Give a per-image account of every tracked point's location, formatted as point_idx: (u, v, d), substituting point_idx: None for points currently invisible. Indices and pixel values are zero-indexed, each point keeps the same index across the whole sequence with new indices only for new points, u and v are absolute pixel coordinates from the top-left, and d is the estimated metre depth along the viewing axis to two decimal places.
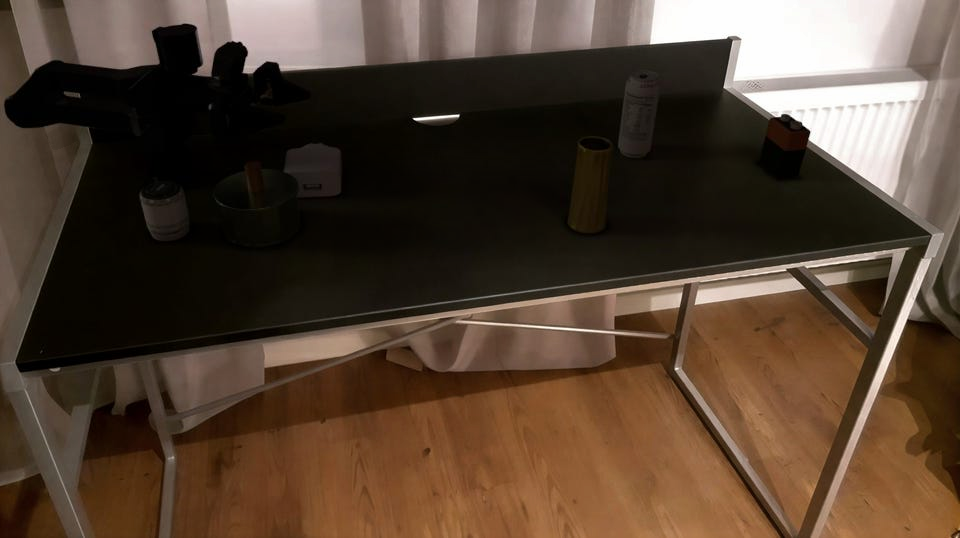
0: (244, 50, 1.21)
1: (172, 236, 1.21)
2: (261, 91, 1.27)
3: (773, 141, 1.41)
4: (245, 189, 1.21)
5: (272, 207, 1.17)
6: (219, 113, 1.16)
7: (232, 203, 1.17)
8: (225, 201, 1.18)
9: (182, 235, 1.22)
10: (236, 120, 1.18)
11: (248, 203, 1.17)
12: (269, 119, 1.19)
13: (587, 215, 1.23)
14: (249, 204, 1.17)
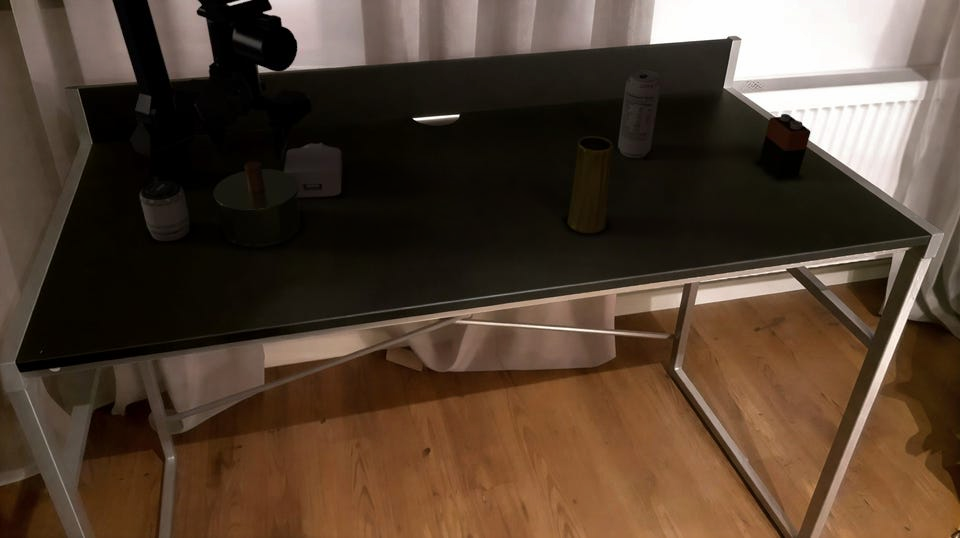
0: (223, 124, 1.07)
1: (172, 236, 1.21)
2: (264, 109, 1.13)
3: (773, 141, 1.41)
4: (245, 189, 1.21)
5: (272, 207, 1.17)
6: None
7: (232, 203, 1.17)
8: (225, 201, 1.18)
9: (182, 235, 1.22)
10: None
11: (248, 203, 1.17)
12: None
13: (587, 215, 1.23)
14: (249, 204, 1.17)
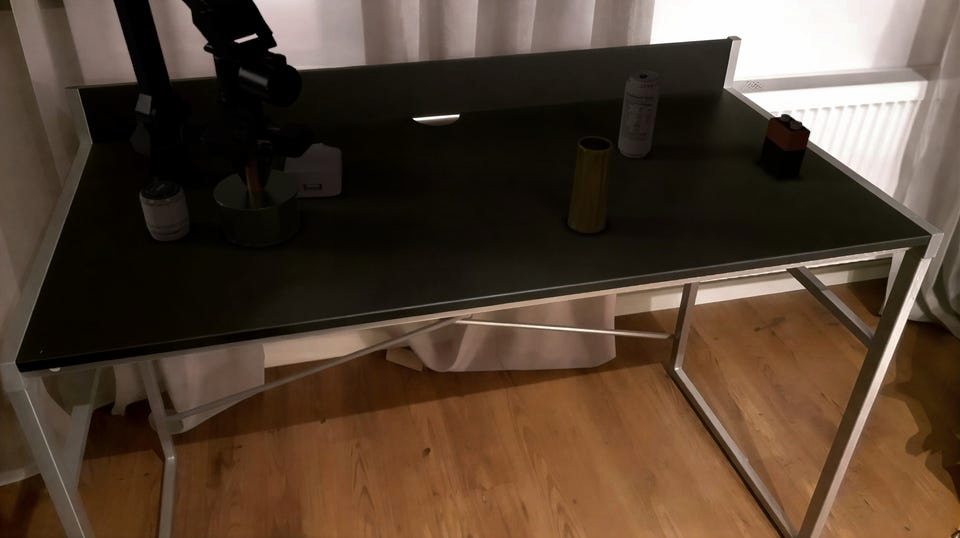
0: (229, 158, 1.10)
1: (172, 236, 1.21)
2: None
3: (773, 141, 1.41)
4: (245, 189, 1.21)
5: (272, 207, 1.17)
6: None
7: (232, 203, 1.17)
8: (225, 201, 1.18)
9: (182, 235, 1.22)
10: None
11: (248, 203, 1.17)
12: None
13: (587, 215, 1.23)
14: (249, 204, 1.17)
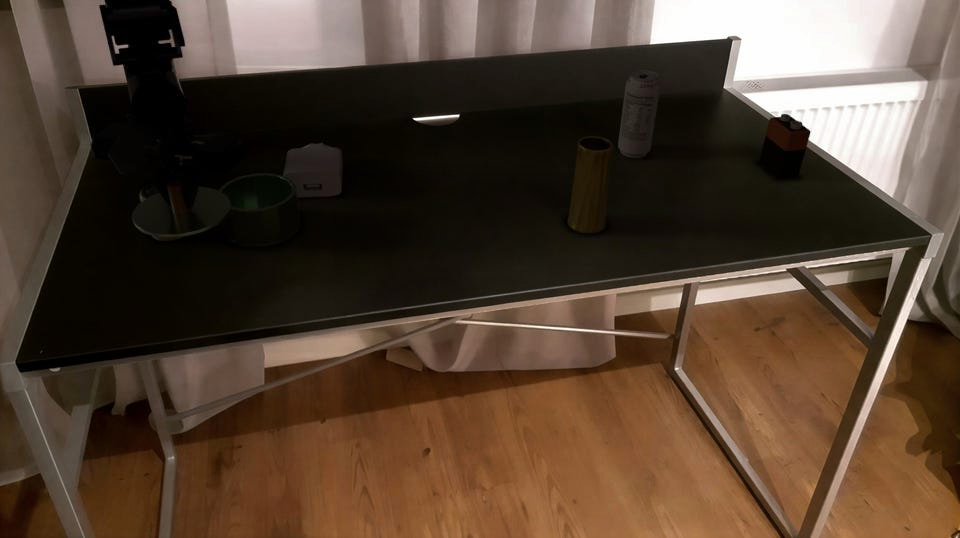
0: (142, 177, 0.96)
1: None
2: None
3: (773, 141, 1.41)
4: (169, 210, 1.07)
5: (197, 231, 1.03)
6: None
7: (152, 227, 1.03)
8: (144, 224, 1.04)
9: None
10: None
11: (170, 227, 1.03)
12: None
13: (587, 215, 1.23)
14: (171, 228, 1.03)
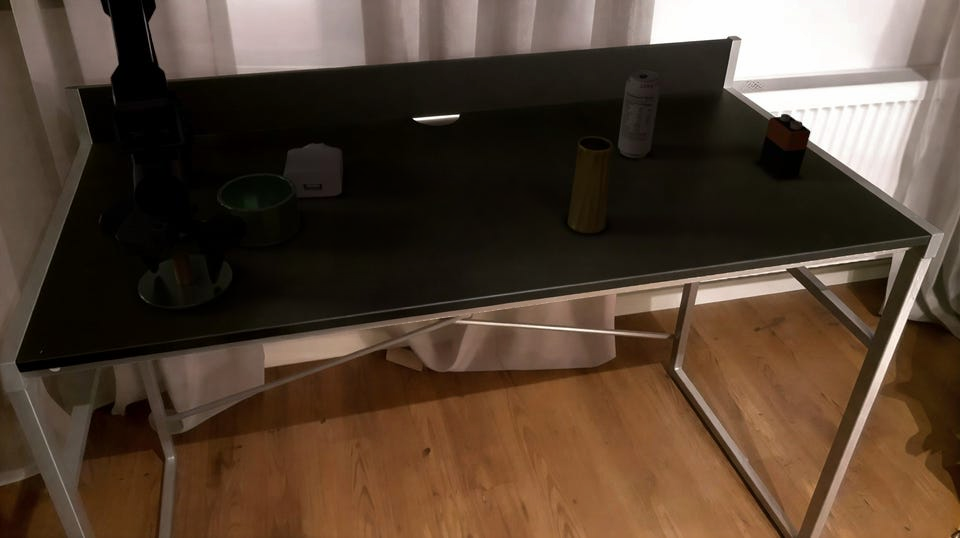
0: (148, 257, 1.00)
1: None
2: None
3: (773, 141, 1.41)
4: (173, 281, 1.11)
5: (200, 304, 1.07)
6: None
7: (157, 299, 1.08)
8: (150, 296, 1.08)
9: (182, 235, 1.22)
10: None
11: (174, 299, 1.08)
12: None
13: (587, 215, 1.23)
14: (175, 300, 1.07)
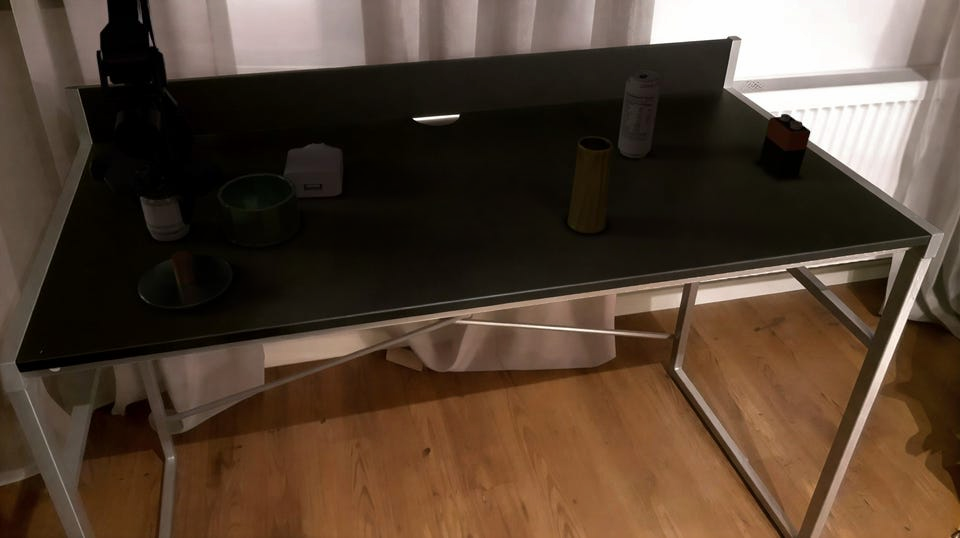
0: (133, 197, 1.11)
1: (172, 236, 1.21)
2: (177, 179, 1.17)
3: (773, 141, 1.41)
4: (173, 281, 1.11)
5: (200, 304, 1.07)
6: None
7: (157, 299, 1.08)
8: (150, 296, 1.08)
9: (182, 235, 1.22)
10: None
11: (174, 299, 1.08)
12: None
13: (587, 215, 1.23)
14: (175, 300, 1.07)
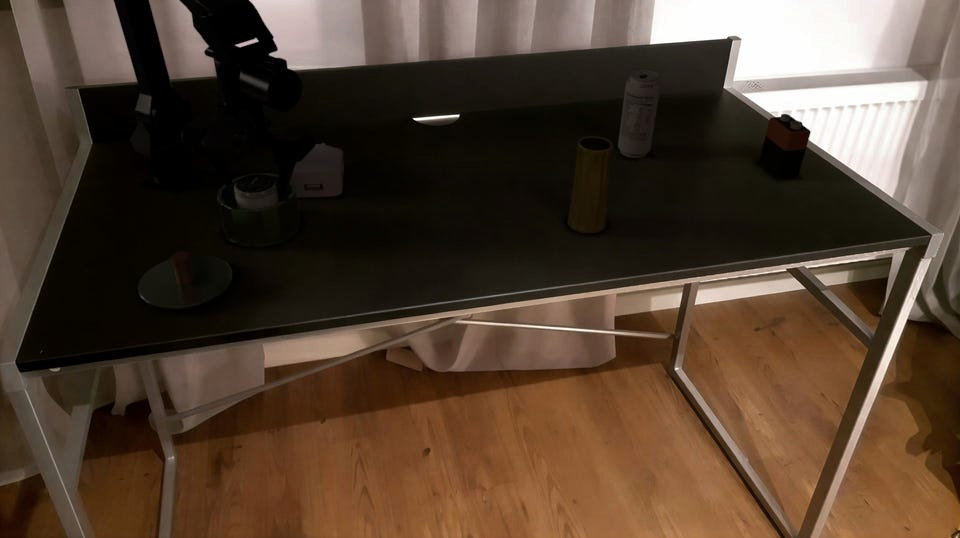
0: (230, 162, 1.10)
1: None
2: None
3: (773, 141, 1.41)
4: (173, 281, 1.11)
5: (200, 304, 1.07)
6: None
7: (157, 299, 1.08)
8: (150, 296, 1.08)
9: None
10: None
11: (174, 299, 1.08)
12: None
13: (587, 215, 1.23)
14: (175, 300, 1.07)
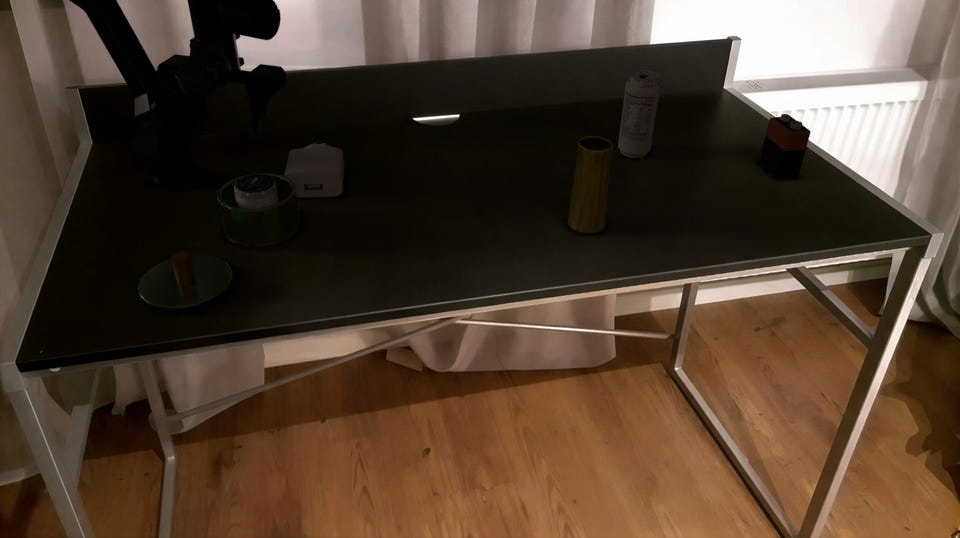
0: (203, 95, 1.13)
1: None
2: (242, 82, 1.19)
3: (773, 141, 1.41)
4: (173, 281, 1.11)
5: (200, 304, 1.07)
6: None
7: (157, 299, 1.08)
8: (150, 296, 1.08)
9: None
10: None
11: (174, 299, 1.08)
12: None
13: (587, 215, 1.23)
14: (175, 300, 1.07)
